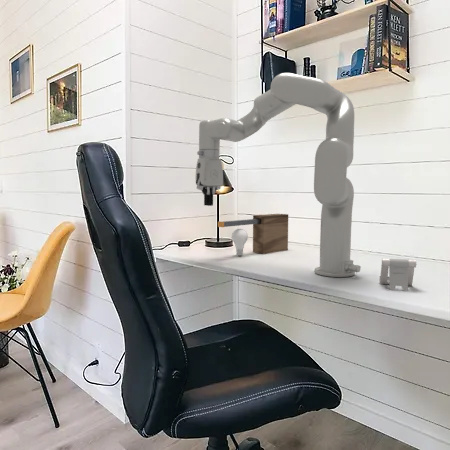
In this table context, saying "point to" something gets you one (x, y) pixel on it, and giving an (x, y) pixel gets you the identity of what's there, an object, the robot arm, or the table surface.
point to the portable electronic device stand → (397, 273)
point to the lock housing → (270, 233)
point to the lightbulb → (239, 240)
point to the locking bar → (239, 222)
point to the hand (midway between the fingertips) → (208, 205)
